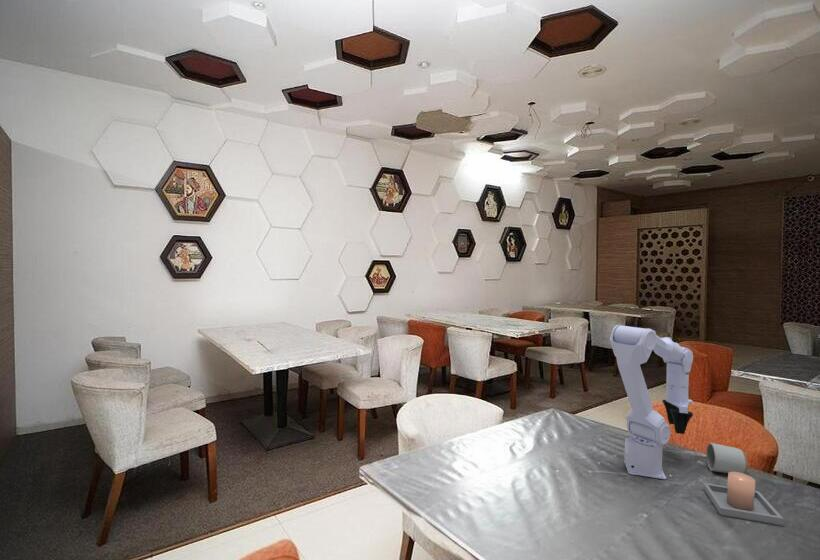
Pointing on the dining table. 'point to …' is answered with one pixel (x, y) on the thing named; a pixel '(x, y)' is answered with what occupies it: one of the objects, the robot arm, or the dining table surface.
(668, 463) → the dining table surface
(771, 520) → the tray
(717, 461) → the ceramic mug
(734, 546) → the dining table surface
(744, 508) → the pink pillar candle
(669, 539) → the dining table surface
